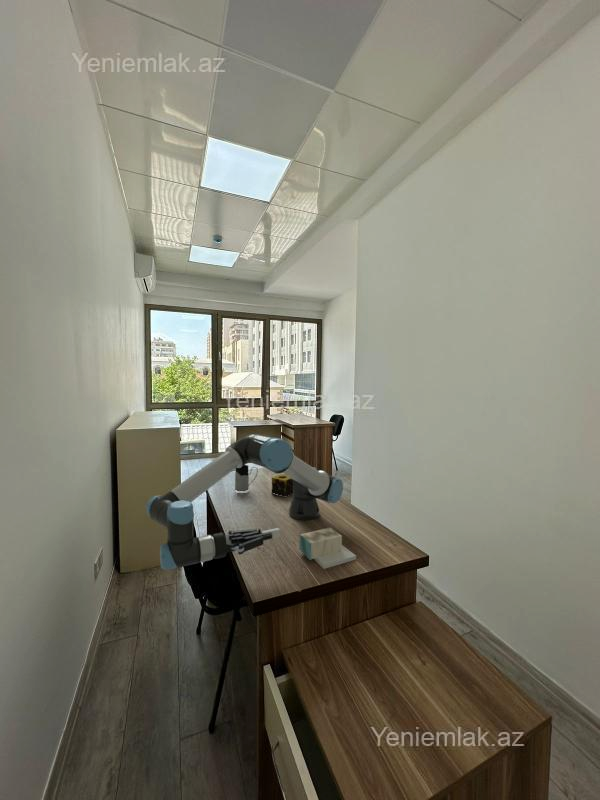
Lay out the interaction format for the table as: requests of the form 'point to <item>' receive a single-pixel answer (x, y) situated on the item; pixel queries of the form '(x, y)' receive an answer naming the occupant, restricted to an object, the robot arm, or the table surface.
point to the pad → (336, 558)
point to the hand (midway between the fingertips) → (279, 532)
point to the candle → (282, 485)
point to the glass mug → (242, 478)
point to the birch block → (320, 543)
